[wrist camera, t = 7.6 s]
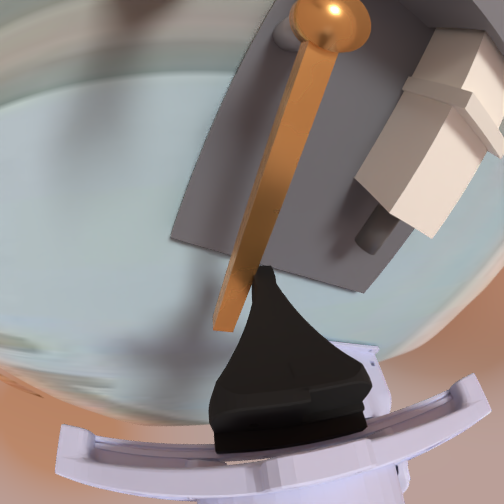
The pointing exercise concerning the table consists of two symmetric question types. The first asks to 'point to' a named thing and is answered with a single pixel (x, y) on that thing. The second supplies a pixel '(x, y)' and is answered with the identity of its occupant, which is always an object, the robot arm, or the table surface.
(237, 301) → the ball-topped lever
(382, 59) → the grey base plate
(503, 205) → the table surface
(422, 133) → the plug
